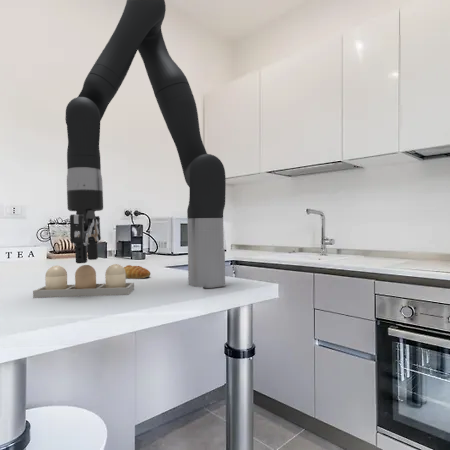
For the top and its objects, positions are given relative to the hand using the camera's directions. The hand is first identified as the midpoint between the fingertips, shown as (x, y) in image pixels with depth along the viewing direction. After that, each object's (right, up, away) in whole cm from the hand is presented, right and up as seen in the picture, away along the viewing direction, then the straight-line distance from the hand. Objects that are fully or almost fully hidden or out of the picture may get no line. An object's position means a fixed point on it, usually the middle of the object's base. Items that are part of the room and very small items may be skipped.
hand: (87, 261), depth 78 cm
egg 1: (-7, -7, -1) cm, 10 cm away
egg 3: (+6, -7, +1) cm, 9 cm away
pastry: (+4, -8, +29) cm, 30 cm away
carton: (0, -8, 0) cm, 8 cm away
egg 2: (0, -7, 0) cm, 7 cm away
